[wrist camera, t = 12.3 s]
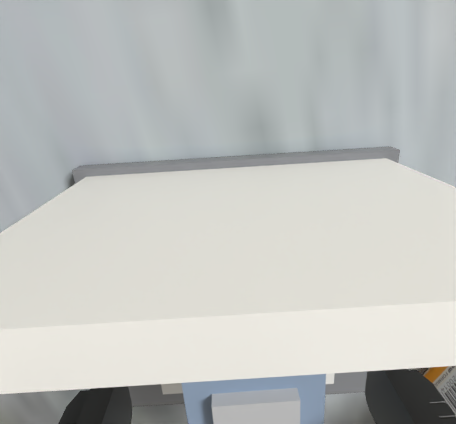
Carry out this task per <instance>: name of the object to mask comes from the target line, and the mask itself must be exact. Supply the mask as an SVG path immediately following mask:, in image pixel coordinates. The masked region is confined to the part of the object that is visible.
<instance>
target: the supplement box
mask: <svg viewBox="0 0 456 424" xmlns="http://www.w3.org/2000/svg"><path fill="white" fill-rule="evenodd" d="M423 376H424V377H426V378H427V379H428V380H429V381H430V382H432V383H433V384H434V386H435V387H436V388H437V390H438V391H439V392H440V394H441V395H442V397H443V398H444V399H445V402H446V404H448V405H449V406H450V408H451V409H452V411H453V412H454V413H455V416H456V366H444V367H429V369H428V370H427V371H426V372H425V373H424V374H423Z"/></svg>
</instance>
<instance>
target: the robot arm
mask: <svg viewBox="0 0 456 424" xmlns="http://www.w3.org/2000/svg"><path fill="white" fill-rule="evenodd" d="M365 395H366V400H367V404H368V407H369V410H370V412H371V414H372V416H373V418H374V421H375V423H376V424H456V416H455V413H454V412H453V411H452V409H451V408H450V406H449V405H448V404H446V402H445V399H444V398H443V397H442V395H441V394H440V392H439V391H438V390H437V388H436V387H435V386H434V384H433V383H432V382H430V381H429V380H428V379H427V378H426V377H424V376H423V375H422V374H421V373H419V372H418V371H417V370H410V371H408V369H396V370H380V371H367V378H366V385H365ZM131 419H132V401H131V397H130V393H129V388H128V386H123V387H107V388H91V389H90V390H85V391H80V392H79V393H78V394H77V395H76V397H75V398H74V399H73V400H72V401H71V402H70V403H69V404H68V406H67V407H66V409H65V411H64V413H63V416H62V418H61V420H60V422H59V424H131Z"/></svg>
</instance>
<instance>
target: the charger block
mask: <svg viewBox="0 0 456 424" xmlns="http://www.w3.org/2000/svg"><path fill="white" fill-rule="evenodd" d="M181 384H182V390H183V396H184V402H185V408H186V414H187V420H188V424H324V407H325V386H326V374H315V375H299V376H283V377H267V378H251V379H235V380H219V381H203V382H187V383H181Z"/></svg>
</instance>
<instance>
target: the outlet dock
mask: <svg viewBox="0 0 456 424" xmlns="http://www.w3.org/2000/svg"><path fill="white" fill-rule="evenodd" d="M399 153H400V150H398V149H396V148H393V147H376V148H359V149H343V150H327V151H311V152H294V153H278V154H262V155H246V156H229V157H213V158H197V159H181V160H164V161H148V162H132V163H116V164H100V165H83V166H79V167H77V168H75V169H73V170H72V173H73V177H74V181H75V184H74V185H73V186H71V187H70V188H68V189H67V190H65V191H64V192H62V193H61V194H59V195H58V196H56V197H55V198H53V199H52V200H50V201H48V202H47V203H45V204H44V205H42V206H41V207H39V208H38V209H36V210H35V211H33V212H32V213H30V214H29V215H27V216H26V217H24V218H23V219H21V220H20V221H18V222H17V223H15V224H13V225H12V226H10V227H9V228H7V229H6V230H4V231H3V232H1V233H0V394H11V393H27V392H43V391H59V390H75V389H91V388H107V387H123V386H128V388H129V393H130V397H131V401H132V407H134V406H150V405H166V404H182V403H185V402H184V396H183V390H182V384H181V383H187V382H203V381H219V380H235V379H251V378H267V377H283V376H299V375H315V374H326V386H325V395H326V394H342V393H358V392H365V385H366V378H367V371H380V370H396V369H412V368H428V367H444V366H456V187H454V186H452V185H449V184H447V183H444V182H442V181H440V180H437V179H435V178H432V177H430V176H428V175H425V174H423V173H421V172H418V171H416V170H413V169H411V168H409V167H406V166H404V165H401V164H399V163H398V160H399Z"/></svg>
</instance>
